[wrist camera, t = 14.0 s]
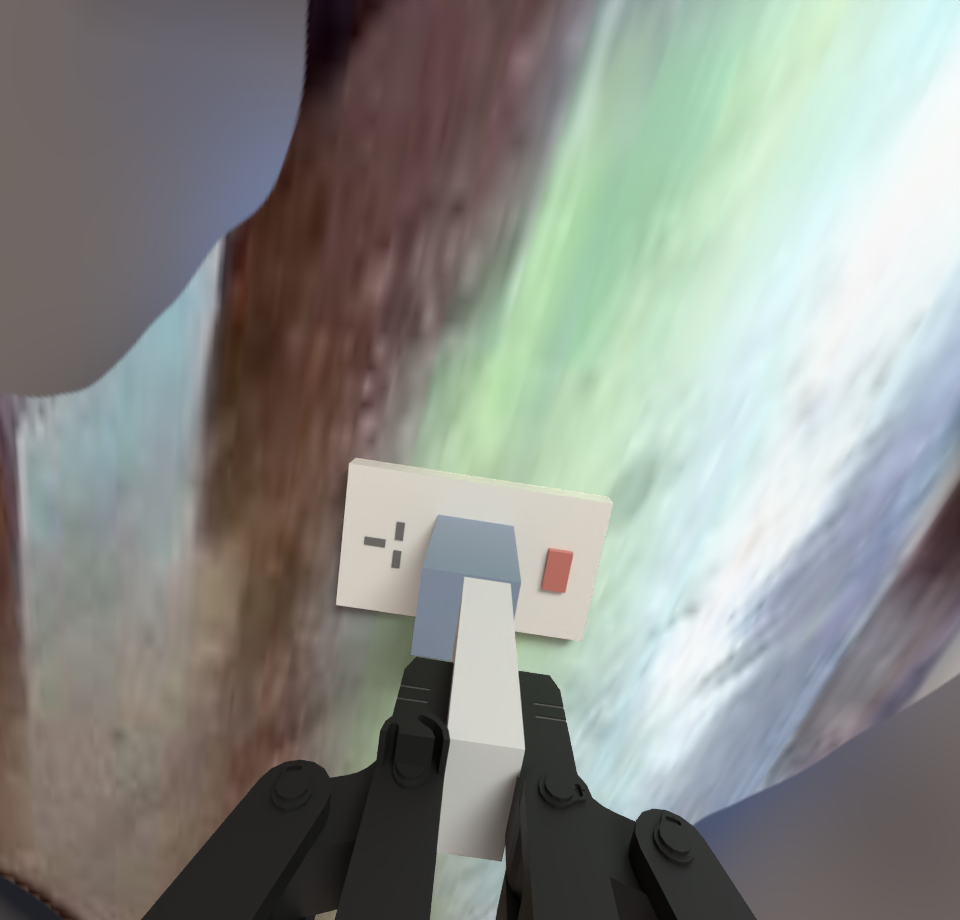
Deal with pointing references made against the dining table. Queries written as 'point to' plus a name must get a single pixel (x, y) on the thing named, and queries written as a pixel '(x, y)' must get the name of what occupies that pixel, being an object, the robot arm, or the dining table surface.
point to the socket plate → (428, 493)
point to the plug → (459, 577)
